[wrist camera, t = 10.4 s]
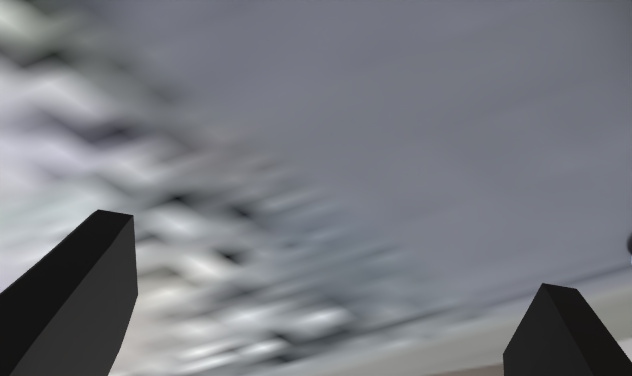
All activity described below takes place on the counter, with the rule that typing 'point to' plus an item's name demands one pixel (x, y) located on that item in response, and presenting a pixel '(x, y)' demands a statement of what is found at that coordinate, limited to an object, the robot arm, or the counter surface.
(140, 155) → the counter surface
